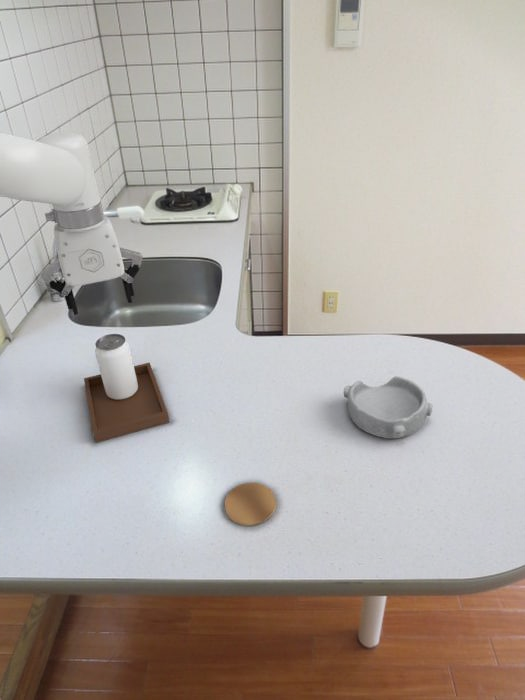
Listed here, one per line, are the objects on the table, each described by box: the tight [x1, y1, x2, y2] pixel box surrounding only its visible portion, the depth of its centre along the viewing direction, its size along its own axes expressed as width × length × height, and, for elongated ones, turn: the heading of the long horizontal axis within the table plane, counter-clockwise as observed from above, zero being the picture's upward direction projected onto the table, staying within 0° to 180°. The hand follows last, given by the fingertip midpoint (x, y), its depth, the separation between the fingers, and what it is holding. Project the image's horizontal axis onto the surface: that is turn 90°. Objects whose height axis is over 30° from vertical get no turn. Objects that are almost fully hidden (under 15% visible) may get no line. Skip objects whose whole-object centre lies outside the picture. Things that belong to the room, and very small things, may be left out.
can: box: [94, 333, 138, 400], centre depth 103 cm, size 6×6×12 cm
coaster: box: [224, 482, 277, 527], centre depth 82 cm, size 8×8×1 cm
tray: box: [83, 362, 170, 444], centre depth 103 cm, size 18×14×2 cm
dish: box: [343, 375, 433, 439], centre depth 96 cm, size 14×14×5 cm
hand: (102, 305), depth 96 cm, fingers open, 9 cm apart
